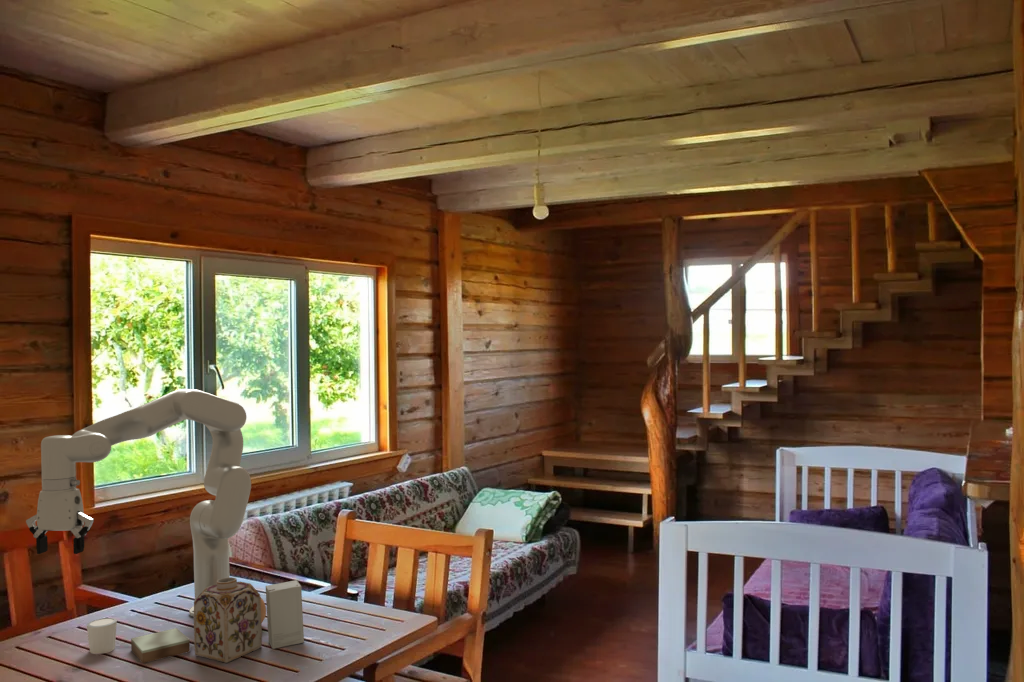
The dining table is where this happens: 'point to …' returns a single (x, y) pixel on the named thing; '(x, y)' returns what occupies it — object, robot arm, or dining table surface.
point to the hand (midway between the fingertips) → (60, 552)
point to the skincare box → (284, 614)
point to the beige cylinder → (102, 635)
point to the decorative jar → (227, 620)
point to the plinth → (160, 645)
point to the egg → (263, 610)
